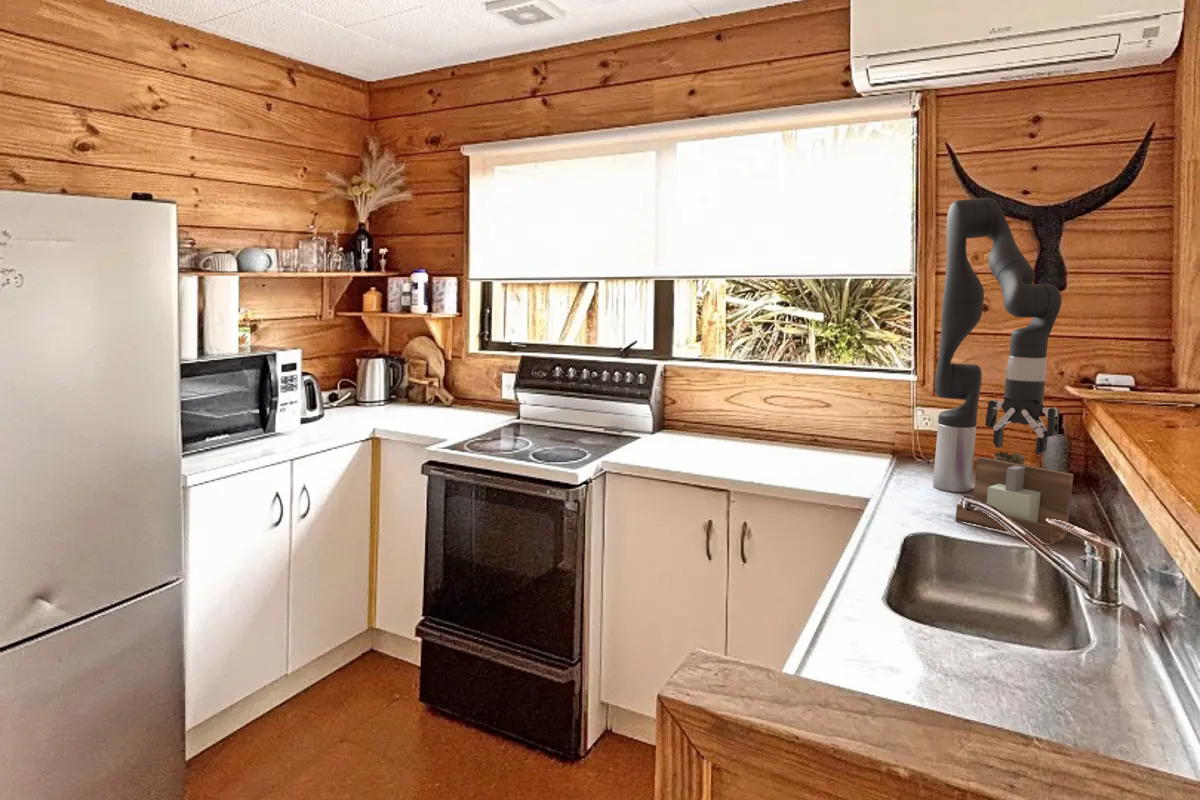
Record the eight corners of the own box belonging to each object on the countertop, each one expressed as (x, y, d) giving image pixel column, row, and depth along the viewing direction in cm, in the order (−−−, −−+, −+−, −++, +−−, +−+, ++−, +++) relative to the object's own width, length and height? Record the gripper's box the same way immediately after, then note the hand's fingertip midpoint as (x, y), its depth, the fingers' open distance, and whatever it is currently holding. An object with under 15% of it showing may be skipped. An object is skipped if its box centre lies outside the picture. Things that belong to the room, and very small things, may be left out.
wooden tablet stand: (974, 514, 181) (979, 456, 179) (1066, 537, 165) (1073, 474, 163) (955, 521, 176) (960, 462, 173) (1048, 545, 160) (1055, 480, 158)
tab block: (996, 517, 176) (1001, 462, 174) (1037, 527, 169) (1042, 470, 167) (985, 521, 173) (990, 465, 171) (1026, 531, 166) (1032, 473, 164)
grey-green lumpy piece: (989, 483, 210) (992, 454, 208) (993, 477, 216) (996, 449, 214) (1020, 487, 205) (1023, 458, 204) (1023, 481, 211) (1026, 453, 210)
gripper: (1068, 379, 162) (1060, 454, 165) (1000, 372, 173) (993, 442, 176) (1053, 382, 158) (1045, 459, 160) (983, 375, 169) (977, 447, 171)
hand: (1018, 450), depth 168 cm, fingers open, 8 cm apart
